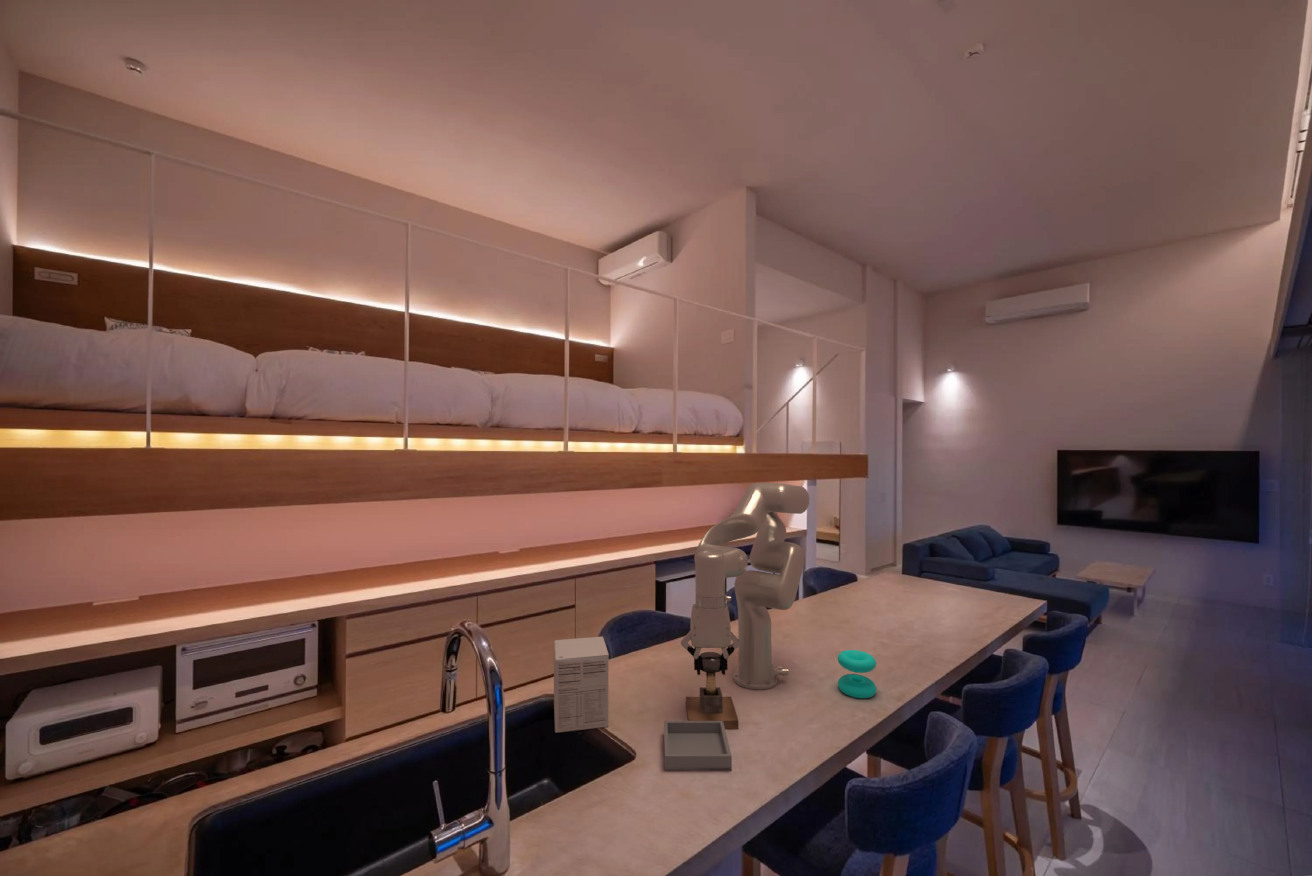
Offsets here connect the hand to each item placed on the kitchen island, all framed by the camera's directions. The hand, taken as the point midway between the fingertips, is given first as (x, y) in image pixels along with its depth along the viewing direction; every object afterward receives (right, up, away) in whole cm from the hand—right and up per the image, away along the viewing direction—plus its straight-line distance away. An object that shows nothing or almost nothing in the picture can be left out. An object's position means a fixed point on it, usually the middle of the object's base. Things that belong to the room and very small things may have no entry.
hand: (710, 672), depth 130 cm
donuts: (+42, -11, +13) cm, 45 cm away
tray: (-5, -11, -15) cm, 19 cm away
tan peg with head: (0, -9, 0) cm, 9 cm away
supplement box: (-33, -11, 0) cm, 35 cm away
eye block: (0, -11, 0) cm, 11 cm away
